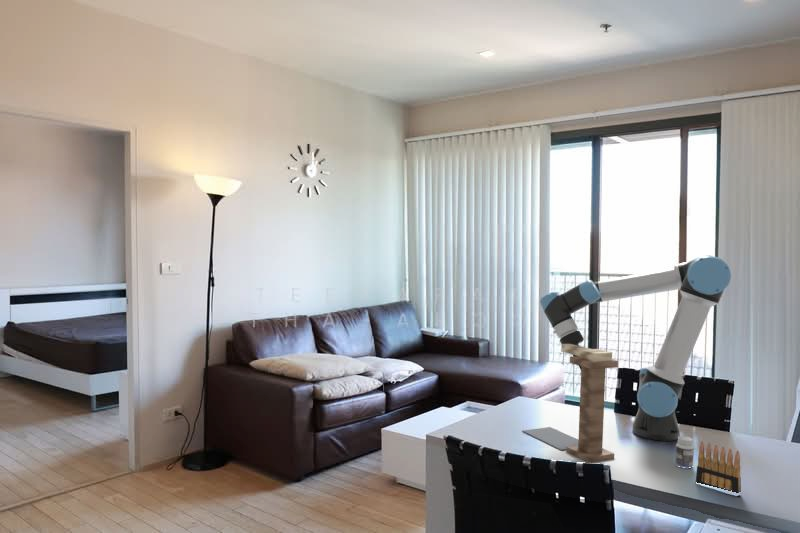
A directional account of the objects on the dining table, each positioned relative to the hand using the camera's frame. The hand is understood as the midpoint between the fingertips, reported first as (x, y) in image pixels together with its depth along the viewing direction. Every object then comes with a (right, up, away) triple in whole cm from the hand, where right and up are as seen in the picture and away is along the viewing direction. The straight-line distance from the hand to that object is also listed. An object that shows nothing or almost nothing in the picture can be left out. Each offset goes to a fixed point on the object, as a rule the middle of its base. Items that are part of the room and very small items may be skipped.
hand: (599, 392), depth 189 cm
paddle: (-8, +13, -9) cm, 18 cm away
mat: (-14, -16, +2) cm, 22 cm away
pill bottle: (+18, -18, -19) cm, 32 cm away
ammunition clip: (+19, -18, -36) cm, 45 cm away
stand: (-7, -17, -12) cm, 22 cm away
